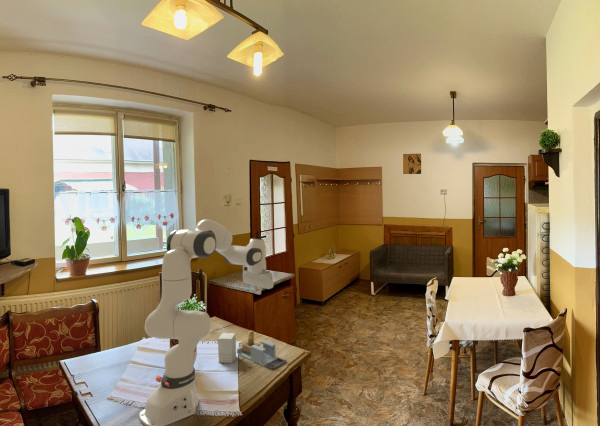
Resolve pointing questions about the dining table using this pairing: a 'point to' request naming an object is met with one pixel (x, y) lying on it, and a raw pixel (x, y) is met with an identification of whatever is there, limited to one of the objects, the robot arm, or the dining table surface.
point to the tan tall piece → (249, 343)
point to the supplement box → (227, 347)
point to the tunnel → (263, 355)
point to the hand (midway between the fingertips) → (258, 293)
